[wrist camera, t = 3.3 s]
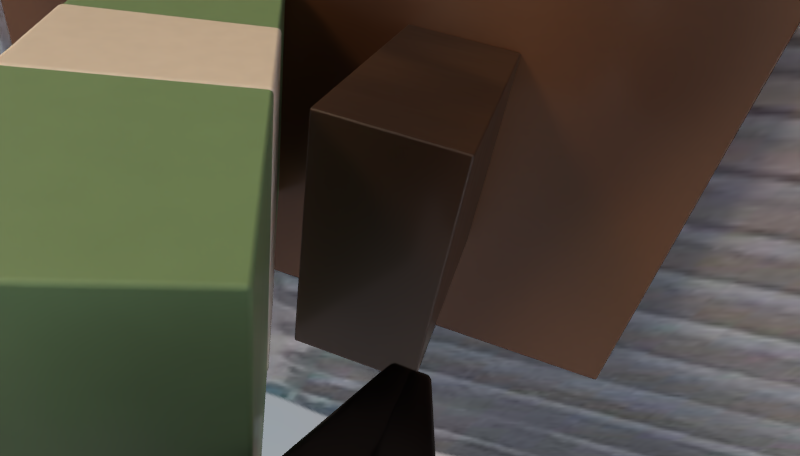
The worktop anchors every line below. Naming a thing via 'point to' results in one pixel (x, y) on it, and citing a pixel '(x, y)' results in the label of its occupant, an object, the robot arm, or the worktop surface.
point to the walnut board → (497, 161)
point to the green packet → (139, 227)
